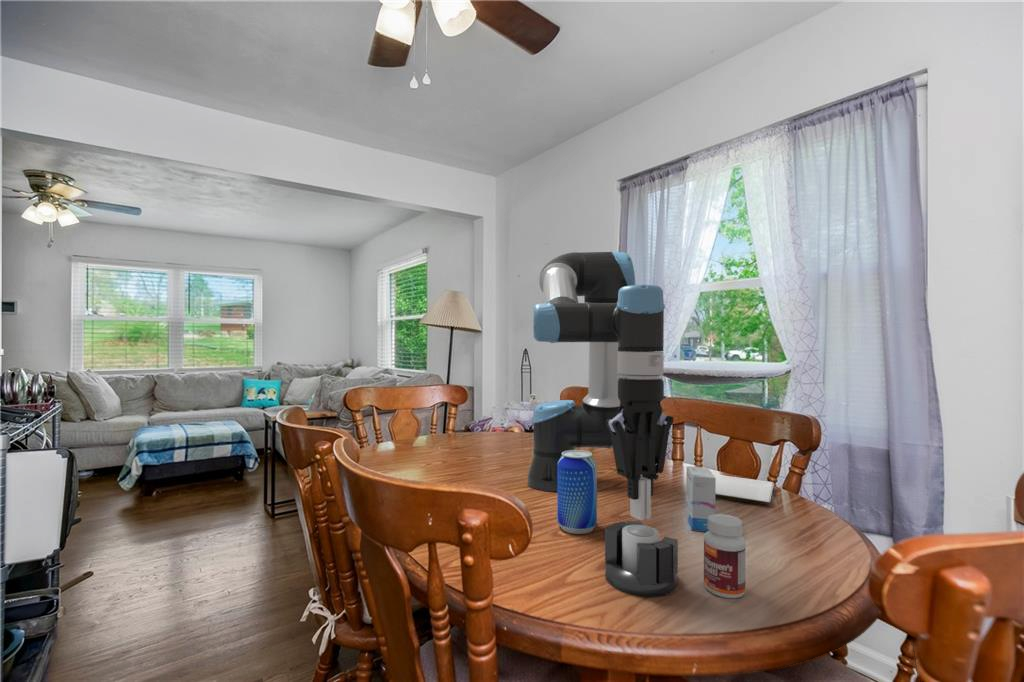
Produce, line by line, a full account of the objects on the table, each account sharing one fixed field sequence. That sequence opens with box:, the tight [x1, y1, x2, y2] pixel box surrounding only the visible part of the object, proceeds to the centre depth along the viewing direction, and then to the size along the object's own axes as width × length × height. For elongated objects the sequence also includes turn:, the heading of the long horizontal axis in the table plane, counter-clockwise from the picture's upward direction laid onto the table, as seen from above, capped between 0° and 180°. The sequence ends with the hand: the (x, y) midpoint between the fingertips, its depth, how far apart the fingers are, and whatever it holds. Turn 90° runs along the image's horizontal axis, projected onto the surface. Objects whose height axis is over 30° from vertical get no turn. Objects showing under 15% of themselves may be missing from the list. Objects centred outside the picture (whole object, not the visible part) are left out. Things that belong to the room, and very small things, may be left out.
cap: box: [622, 524, 660, 575], centre depth 80 cm, size 6×6×6 cm
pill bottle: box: [703, 513, 746, 599], centre depth 76 cm, size 6×6×11 cm
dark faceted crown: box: [604, 520, 679, 598], centre depth 80 cm, size 12×12×8 cm
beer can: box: [556, 449, 598, 535], centre depth 102 cm, size 8×8×16 cm
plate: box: [712, 473, 775, 505], centre depth 127 cm, size 19×19×2 cm
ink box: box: [684, 465, 716, 532], centre depth 104 cm, size 9×5×12 cm, turn 168°
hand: (640, 516), depth 80 cm, fingers closed
